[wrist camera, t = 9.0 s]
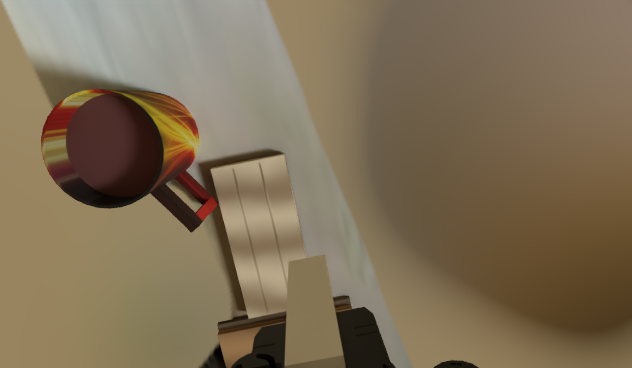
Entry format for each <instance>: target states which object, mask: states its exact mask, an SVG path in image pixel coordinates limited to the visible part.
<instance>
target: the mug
mask: <svg viewBox="0 0 632 368" xmlns="http://www.w3.org/2000/svg"><path fill="white" fill-rule="evenodd" d="M41 147H42V155H43V159H44V163H45V165H46V167H47V169H48V172H49V174H50V175H51V177H52V178H53V180H54V181H55V183H56V184H57V185H58V186H59V187H60V188H61V189H62V190H63V191H64V192H65V193H67V194H68V195H69V196H71V197H72V198H74V199H75V200H77V201H80V202H82V203H84V204H86V205H90V206H94V207H98V208H118V207H123V206H126V205H130V204H132V203H134V202H136V201H137V200H140V199H141V198H143V197H144V196H146V195H148V194H149V193H151V194H152V195H153V196H154V197H155V198H156V199H157V200H158V201H159V202H160V203H161V204H163V206H165V207H166V208H167V209H168V210H169V211H170V212H171V213H172V214H173V215H174V216H175V217H176V218H177V219H178V220H179V221H180V222H181V223H182V224H184V226H185V227H187V228H188V230H189V231H190V232H193V231H194V230H195V229H196V228H197V227H199V226H200V224H201V223H202V222H203V221H204V219H205V218H206V217H207V216H208V215H209V214H210V213H211V212H212V211H213V210H214V208H215V207H216V206H217V204H218V202H217V201H216V200H215V199H214V198H213V197H212V196H211V195H210V194H209V193H208V192H207V191H206V190H205V189H204V188H203V187H202V186H201V185H200V184H199V183H198V182H197V181H196V180H195V179H194V178H193V177H192V176H191V175H190V174H189V173H188V172H187V171H186V169H188V168H189V166H190V165H191V164H192V162H193V161H194V159H195V156H196V154H197V151H198V147H199V134H198V128H197V126H196V123H195V120H194V119H193V117H192V115H191V114H190V112H189V111H188V110H187V109H186V108H185V106H184V105H182V104H181V103H180V102H178V101H177V100H175V99H173V98H172V97H170V96H167V95H164V94H160V93H151V92H136V91H120V90H105V89H92V90H84V91H80V92H77V93H74V94H72V95H70V96H68V97H67V98H65V99H63V100H62V101H61V102H60V103H59V104H58V105H56V106H55V107H54V109H53V110H52V111H51V113H50V115H49V116H48V117H47V120H46V122H45V125H44V127H43V132H42V137H41ZM174 178H175V179H176V180H177V181H178V182H179V183H180V184H181V185H182V186H183V187H184V188H185V189H187V190H188V191H189V192H190V193H191V194H192V195H193V196H194V197H195V198H196V199H197V200H198V201H199V202H200V203H201V204H202V206H201V207H200V208H199V209H198V211H197V212H196V213H195V212H194V211H193V210H192V209H191V208H190V207H189V206H187V204H185V203H184V202H183V201H182V200H181V199H180V198H179V197H178V196H177V195H176V194H175V193H174V192H173V191H172V190H171V189H170V188H169V187H168V186H167V185H166V183H167V182H169V181H170V180H172V179H174Z"/></svg>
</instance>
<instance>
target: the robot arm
mask: <svg viewBox="0 0 632 368" xmlns="http://www.w3.org/2000/svg"><path fill="white" fill-rule="evenodd" d="M231 368H395V366H394V365H393V364H392V363H391V362H390V360H389V357H388V354H387V351H386V348H385V345H384V343H383V340H382V337H381V334H380V332H379V329H378V326H377V323H376V320H375V317H374V315H373V313H372V312H370V311H369V310H368V309H366V308H365V307H361V308H356V309H350V310H345V311H340V312H335V307H334V301H333V296H332V290H331V285H330V280H329V274H328V269H327V263H326V258H325V255H321V256H315V257H310V258H304V259H299V260H294V261H289V265H288V290H287V315H286V323H281V324H275V325H270V326H265V327H261V329H260V330H259V331H258V333H257V334H256V335H255V337H254V342H253V349H252V353H249V354H247V355H245V356H243V357H241V358H240V359H238V360H237V361H236V362H235V363H234V364H233V365H232V367H231ZM434 368H478V367H477V366H475V365H473V364H471V363H467V362H464V361H453V360H451V361H446V362H442V363H440V364H438V365H437V366H435V367H434Z"/></svg>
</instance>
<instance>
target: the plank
mask: <svg viewBox="0 0 632 368" xmlns="http://www.w3.org/2000/svg"><path fill="white" fill-rule="evenodd" d="M211 173H212V177H213V181H214V185H215V189H216V193H217V197H218V201H219V205H220V208H221V212H222V216H223V220H224V224H225V228H226V232H227V236H228V240H229V244H230V248H231V251H232V255H233V259H234V263H235V267H236V271H237V275H238V279H239V283H240V287H241V291H242V294H243V298H244V302H245V306H246V310H247V314H248V318H249V319H250V318H255V317H260V316H265V315H270V314H275V313H279V312H284V311H287V290H288V265H289V261H294V260H299V259H304V258H307V257H306V252H305V247H304V242H303V238H302V233H301V228H300V224H299V219H298V214H297V210H296V205H295V200H294V196H293V191H292V186H291V181H290V177H289V172H288V167H287V163H286V158H285V153H281V154H276V155H271V156H266V157H261V158H256V159H251V160H246V161H241V162H236V163H231V164H226V165H221V166H216V167H213V168H212V169H211Z"/></svg>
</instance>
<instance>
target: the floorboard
mask: <svg viewBox="0 0 632 368" xmlns="http://www.w3.org/2000/svg"><path fill="white" fill-rule="evenodd" d="M333 301H334V307H335V312H340V311H345V310H350V309H352V307H351V303H350V298H349V296H347V297H342V298H337V299H333ZM286 315H287V311H284V312H279V313H275V314H270V315H265V316H260V317H255V318H250V319H249V318H248V316H247V317H242V318H237V319H232V320H227V321H223V322H219V323H218V329H219V333H218V338H219V342H220V346H221V350H222V353H223V357H224V361H225V364H226V368H231V367H232V365H233V364H234V363H235V362H236V361H237V360H238V359H240V358H241V357H243V356H245V355H247V354H249V353H252V349H253V342H254V337H255V335H256V334H257V333H258V331H259V330H260V329H261V327H265V326H270V325H275V324H281V323H286Z"/></svg>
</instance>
